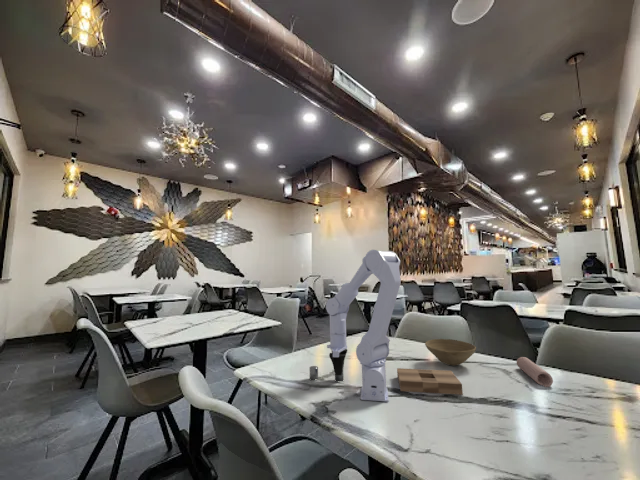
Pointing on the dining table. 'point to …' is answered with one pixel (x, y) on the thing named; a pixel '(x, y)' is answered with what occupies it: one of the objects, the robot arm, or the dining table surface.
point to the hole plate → (429, 381)
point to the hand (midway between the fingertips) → (339, 373)
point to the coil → (535, 372)
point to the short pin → (313, 372)
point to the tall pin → (339, 377)
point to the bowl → (450, 350)
